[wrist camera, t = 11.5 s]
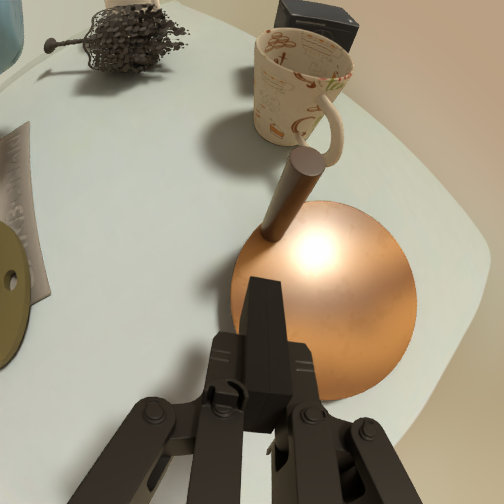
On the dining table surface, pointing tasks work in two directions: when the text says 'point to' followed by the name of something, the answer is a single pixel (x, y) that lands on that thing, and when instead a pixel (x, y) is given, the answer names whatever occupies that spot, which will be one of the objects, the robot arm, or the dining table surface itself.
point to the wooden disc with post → (331, 281)
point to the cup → (125, 0)
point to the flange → (12, 293)
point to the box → (318, 20)
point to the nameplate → (21, 206)
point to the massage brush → (121, 44)
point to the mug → (299, 87)
